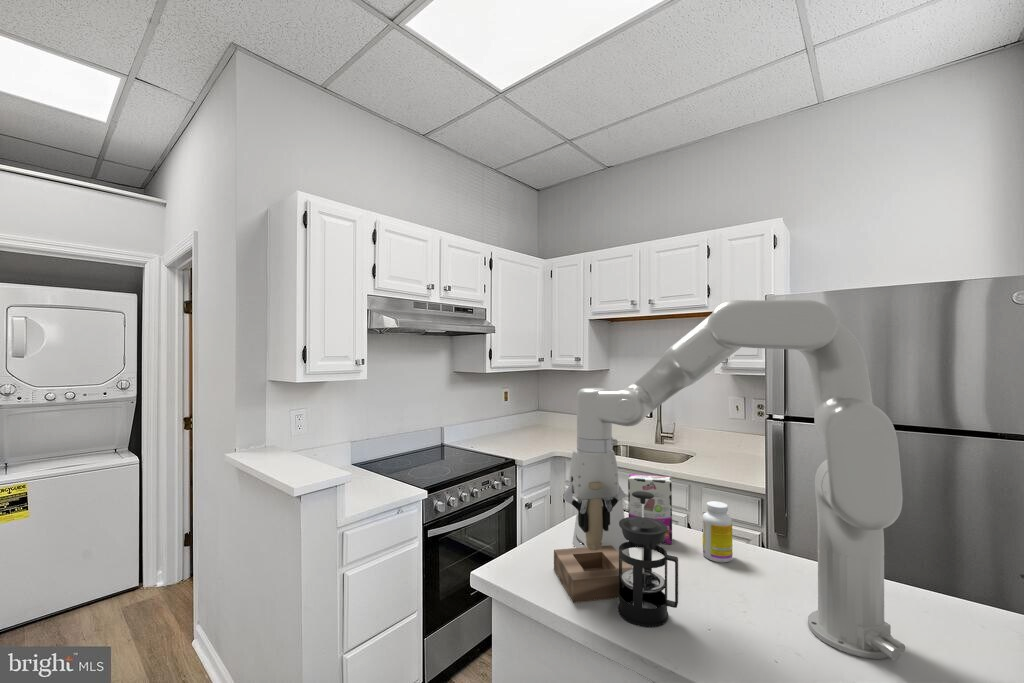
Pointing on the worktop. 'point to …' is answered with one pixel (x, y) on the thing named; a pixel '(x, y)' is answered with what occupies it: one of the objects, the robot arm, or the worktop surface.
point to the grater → (610, 536)
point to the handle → (594, 520)
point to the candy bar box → (652, 500)
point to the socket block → (589, 572)
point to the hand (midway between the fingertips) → (594, 528)
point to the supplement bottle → (717, 532)
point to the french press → (644, 571)
